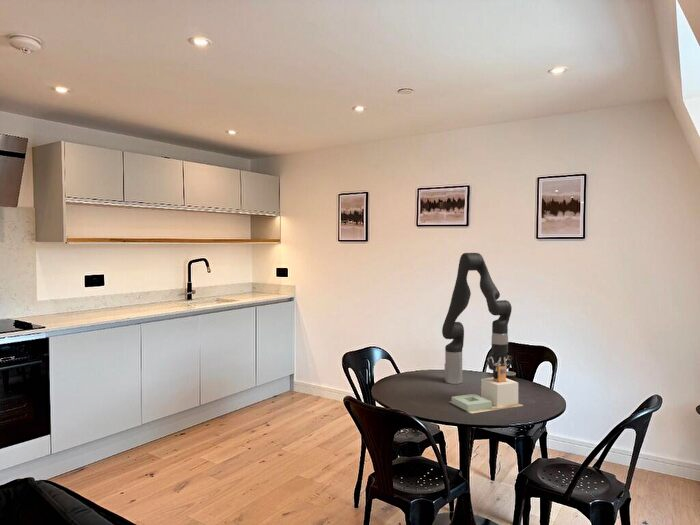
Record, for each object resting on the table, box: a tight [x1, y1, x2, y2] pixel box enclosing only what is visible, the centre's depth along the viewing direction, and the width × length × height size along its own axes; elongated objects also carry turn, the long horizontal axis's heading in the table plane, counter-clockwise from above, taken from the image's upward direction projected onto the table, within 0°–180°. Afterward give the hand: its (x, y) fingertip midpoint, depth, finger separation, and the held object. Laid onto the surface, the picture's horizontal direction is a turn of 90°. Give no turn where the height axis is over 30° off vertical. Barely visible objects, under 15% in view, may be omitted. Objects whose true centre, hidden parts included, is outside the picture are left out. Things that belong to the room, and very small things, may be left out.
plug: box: [492, 365, 507, 383], centre depth 228 cm, size 5×4×10 cm
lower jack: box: [451, 393, 492, 413], centre depth 223 cm, size 13×13×3 cm
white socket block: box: [480, 376, 519, 407], centre depth 229 cm, size 12×12×10 cm
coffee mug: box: [506, 370, 517, 382], centre depth 247 cm, size 12×9×10 cm
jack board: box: [448, 400, 524, 414], centre depth 226 cm, size 18×29×1 cm, turn 112°
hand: (499, 378), depth 228 cm, fingers closed on plug, 4 cm apart
